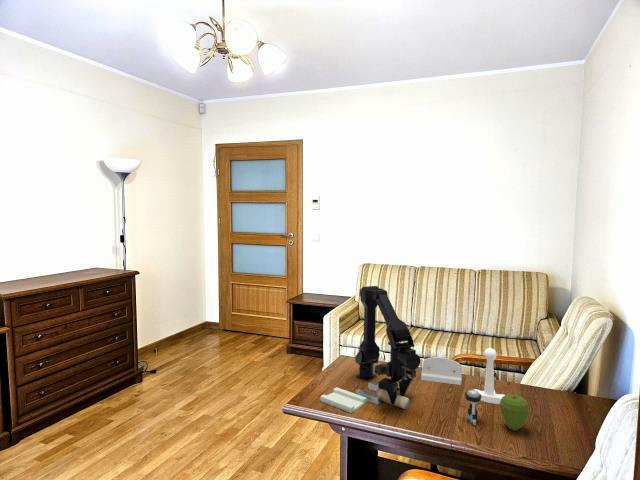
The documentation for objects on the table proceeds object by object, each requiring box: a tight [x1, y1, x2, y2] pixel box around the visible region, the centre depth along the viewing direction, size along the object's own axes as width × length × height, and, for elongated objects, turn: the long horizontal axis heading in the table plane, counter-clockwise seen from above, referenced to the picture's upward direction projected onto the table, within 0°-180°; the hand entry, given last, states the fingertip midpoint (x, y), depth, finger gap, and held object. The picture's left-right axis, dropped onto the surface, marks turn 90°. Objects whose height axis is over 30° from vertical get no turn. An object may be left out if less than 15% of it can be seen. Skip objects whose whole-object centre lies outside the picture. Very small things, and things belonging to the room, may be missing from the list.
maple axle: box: [375, 389, 410, 410], centre depth 153 cm, size 12×4×4 cm
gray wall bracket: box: [420, 356, 463, 386], centre depth 174 cm, size 17×5×10 cm, turn 72°
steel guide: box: [355, 380, 386, 406], centre depth 159 cm, size 11×10×2 cm
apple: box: [499, 393, 530, 432], centre depth 135 cm, size 9×8×12 cm
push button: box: [464, 389, 482, 426], centre depth 140 cm, size 7×5×10 cm
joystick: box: [473, 347, 506, 405], centre depth 156 cm, size 11×8×20 cm
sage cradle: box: [319, 387, 368, 414], centre depth 153 cm, size 10×14×2 cm
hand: (397, 400), depth 153 cm, fingers open, 6 cm apart
